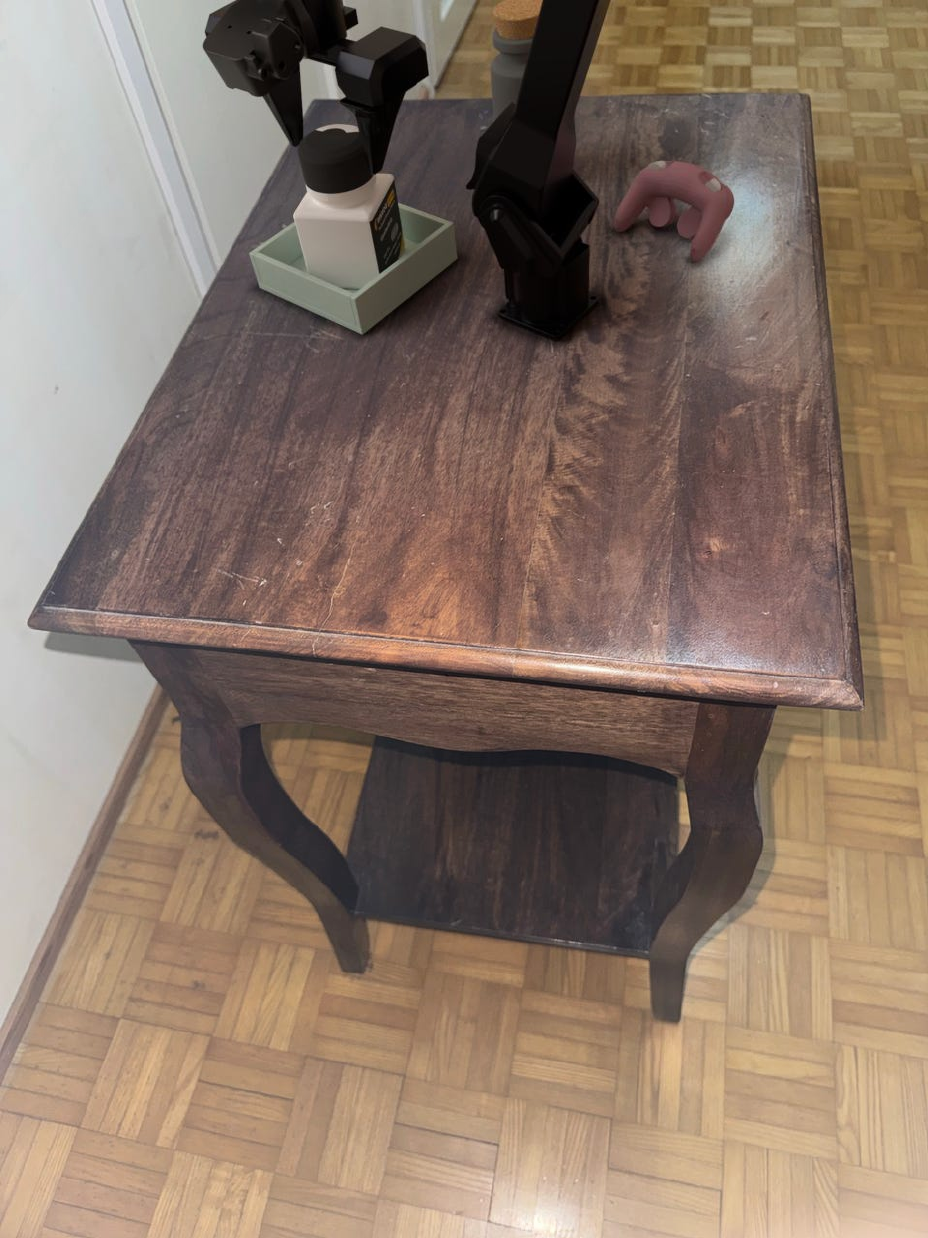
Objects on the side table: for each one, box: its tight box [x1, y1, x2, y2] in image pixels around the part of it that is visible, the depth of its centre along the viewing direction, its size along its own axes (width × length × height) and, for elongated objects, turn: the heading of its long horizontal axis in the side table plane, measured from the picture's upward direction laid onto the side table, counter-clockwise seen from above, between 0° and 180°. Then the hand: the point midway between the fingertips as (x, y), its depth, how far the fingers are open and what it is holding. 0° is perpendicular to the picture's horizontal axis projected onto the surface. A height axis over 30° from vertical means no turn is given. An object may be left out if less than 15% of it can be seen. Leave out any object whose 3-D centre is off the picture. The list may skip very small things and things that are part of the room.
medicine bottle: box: [292, 123, 405, 289], centre depth 79 cm, size 7×7×12 cm
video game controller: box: [613, 160, 735, 263], centre depth 81 cm, size 10×5×7 cm, turn 47°
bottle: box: [490, 0, 543, 121], centre depth 86 cm, size 6×6×15 cm
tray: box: [248, 202, 458, 336], centre depth 83 cm, size 13×13×4 cm
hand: (336, 158), depth 76 cm, fingers open, 9 cm apart
